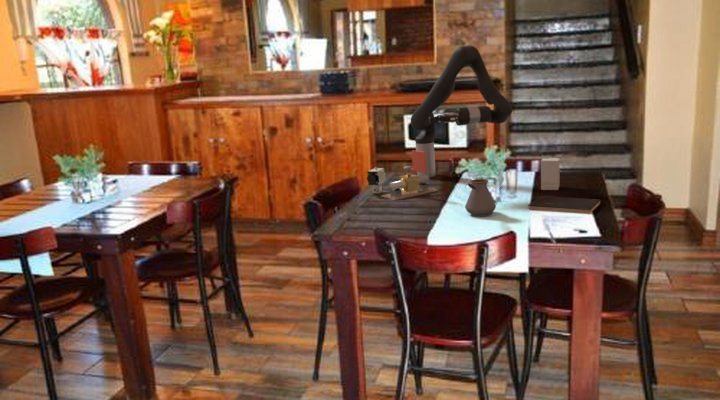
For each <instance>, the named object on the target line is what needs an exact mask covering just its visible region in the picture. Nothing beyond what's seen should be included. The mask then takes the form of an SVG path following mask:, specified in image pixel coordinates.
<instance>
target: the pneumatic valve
mask: <svg viewBox="0 0 720 400" xmlns="http://www.w3.org/2000/svg"><path fill="white" fill-rule="evenodd" d="M366 173H367V176H366V181H367V184H368V186H372V193H374V194H378V195H379V193H380V194H382V193H383V188H382V187H383V185H382V183H385V182H386V180H387V172H386V169H385V167H376V166H375V167H374V168H372V169H369V170H367V172H366Z"/></svg>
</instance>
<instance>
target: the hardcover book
mask: <svg viewBox="0 0 720 400" xmlns="http://www.w3.org/2000/svg"><path fill="white" fill-rule="evenodd" d="M601 203H602V200H601V199H596V198H582V197H581V198H577V197H563V196H562V197H560V196H559V197H558V196H545V195H544V196H543V195H540V196H539V197H538V198H536V199H535V200H533V201H532V202H530V203H529V204H528V205H527V206H528V209H529V210H531V211H532V210H535V211H536V210H537V211H546V212H547V211H548V212H564V213H575V214H576V213H577V214H578V213H579V214H591V213H592V212H593V211H594V210H596V209H597V207H599V206H600V205H601Z"/></svg>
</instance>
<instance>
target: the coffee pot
mask: <svg viewBox="0 0 720 400" xmlns="http://www.w3.org/2000/svg"><path fill="white" fill-rule="evenodd" d="M469 182H470V183H466V185H464V188H465V189H467V190H468V188H467V186H468V187H469V188H470V189H471V190H470V193H469V196H468V197H467V200H466V204H465V207H464V208H465V210H466V211H467V213H468V214H470V215H471V216H473V217H487V216H490V215H492V213H493V212H494V211H495V210H496V207H497V205H496V202H495V201H494V198H493V196H492V194H491V192H490V191H489V188H488V185H487V184H488V182H489V180H488V179H483V178H477V179H473V180H472V179H471V180H470V181H469Z"/></svg>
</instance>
